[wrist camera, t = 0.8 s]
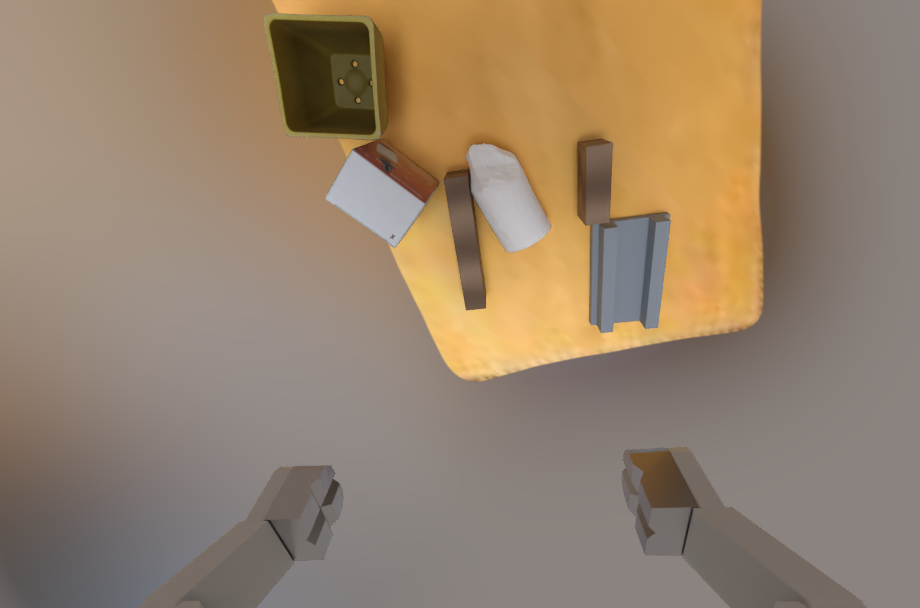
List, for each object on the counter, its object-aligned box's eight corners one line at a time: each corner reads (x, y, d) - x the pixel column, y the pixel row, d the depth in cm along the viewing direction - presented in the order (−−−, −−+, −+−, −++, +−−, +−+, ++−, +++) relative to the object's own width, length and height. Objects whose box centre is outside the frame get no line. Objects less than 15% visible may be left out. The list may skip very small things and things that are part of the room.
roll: (499, 123, 39) (501, 127, 34) (548, 218, 44) (556, 233, 39) (452, 155, 41) (447, 162, 36) (503, 243, 46) (506, 260, 41)
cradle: (590, 221, 44) (597, 229, 41) (666, 212, 43) (678, 219, 40) (589, 321, 50) (594, 333, 48) (654, 314, 49) (664, 327, 47)
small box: (440, 182, 43) (428, 204, 33) (414, 219, 45) (395, 250, 36) (382, 135, 41) (351, 147, 31) (357, 177, 43) (322, 199, 34)
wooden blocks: (445, 163, 42) (441, 169, 38) (601, 138, 39) (612, 142, 36) (467, 295, 50) (466, 310, 46) (597, 281, 47) (606, 295, 44)
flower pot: (401, 132, 40) (380, 140, 32) (322, 129, 41) (283, 136, 33) (397, 33, 36) (372, 15, 28) (309, 30, 36) (261, 12, 28)
